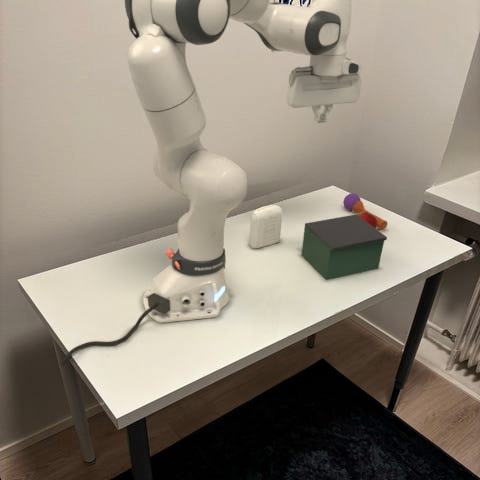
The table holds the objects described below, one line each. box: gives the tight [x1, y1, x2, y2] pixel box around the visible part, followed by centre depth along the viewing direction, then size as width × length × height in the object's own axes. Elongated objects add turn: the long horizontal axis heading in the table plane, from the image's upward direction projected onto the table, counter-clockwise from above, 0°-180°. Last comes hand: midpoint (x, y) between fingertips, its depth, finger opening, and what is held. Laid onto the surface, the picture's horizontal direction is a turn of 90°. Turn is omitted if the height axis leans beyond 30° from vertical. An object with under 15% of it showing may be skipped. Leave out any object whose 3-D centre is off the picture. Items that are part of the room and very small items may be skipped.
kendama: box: [342, 193, 388, 231], centre depth 172 cm, size 6×6×20 cm
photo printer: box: [249, 204, 283, 249], centre depth 153 cm, size 10×4×12 cm, turn 123°
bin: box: [300, 226, 385, 281], centre depth 146 cm, size 15×18×10 cm
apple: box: [356, 212, 377, 229], centre depth 161 cm, size 8×8×8 cm
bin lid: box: [304, 213, 388, 251], centre depth 143 cm, size 15×18×1 cm
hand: (320, 122), depth 135 cm, fingers closed
